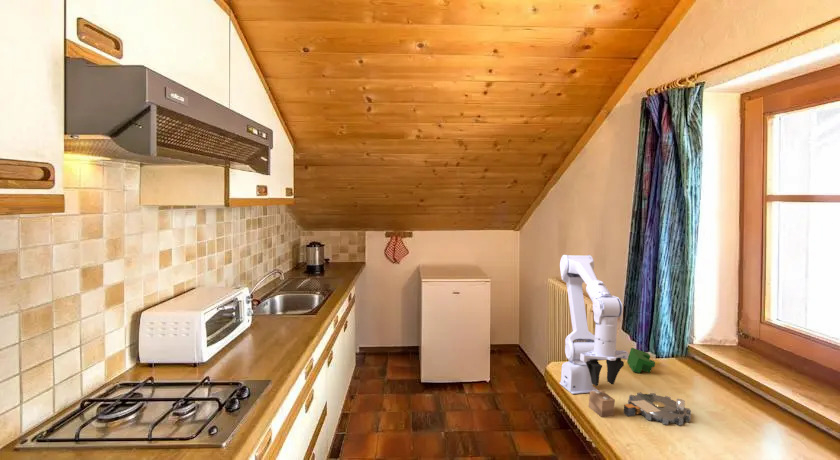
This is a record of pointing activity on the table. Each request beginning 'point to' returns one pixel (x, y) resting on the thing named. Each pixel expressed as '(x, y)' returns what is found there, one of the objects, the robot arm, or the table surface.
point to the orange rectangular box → (629, 410)
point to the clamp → (640, 361)
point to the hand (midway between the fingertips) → (602, 383)
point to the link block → (601, 403)
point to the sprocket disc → (660, 408)
